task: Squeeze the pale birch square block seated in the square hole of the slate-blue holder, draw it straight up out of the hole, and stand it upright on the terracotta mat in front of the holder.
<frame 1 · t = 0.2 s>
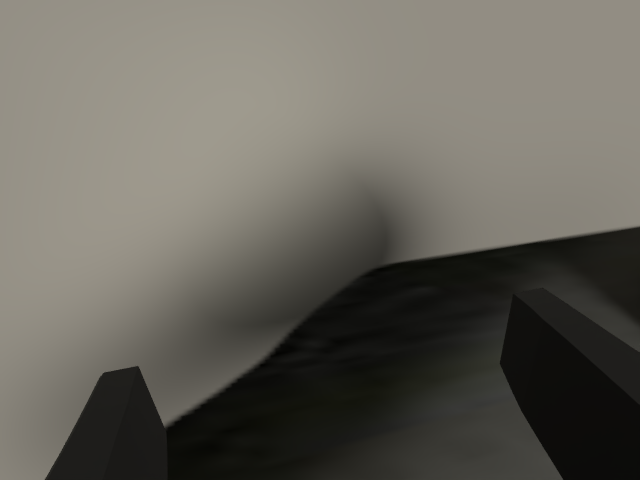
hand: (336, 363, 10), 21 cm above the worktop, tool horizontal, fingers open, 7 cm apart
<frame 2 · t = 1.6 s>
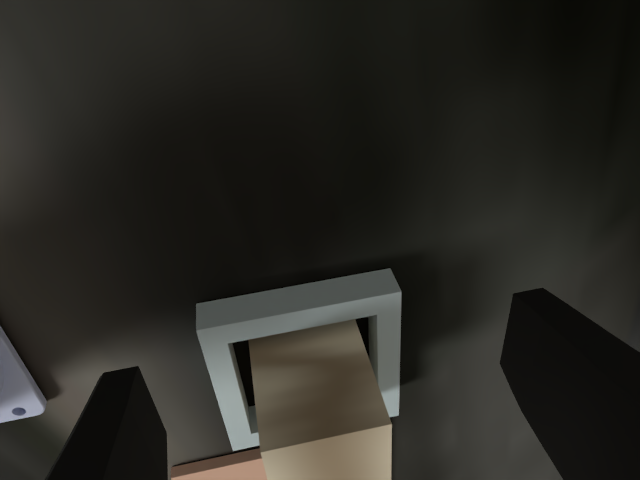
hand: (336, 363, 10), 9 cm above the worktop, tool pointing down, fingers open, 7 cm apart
birch block: (304, 350, 24), resting in holder
holder: (304, 352, 24), on the worktop
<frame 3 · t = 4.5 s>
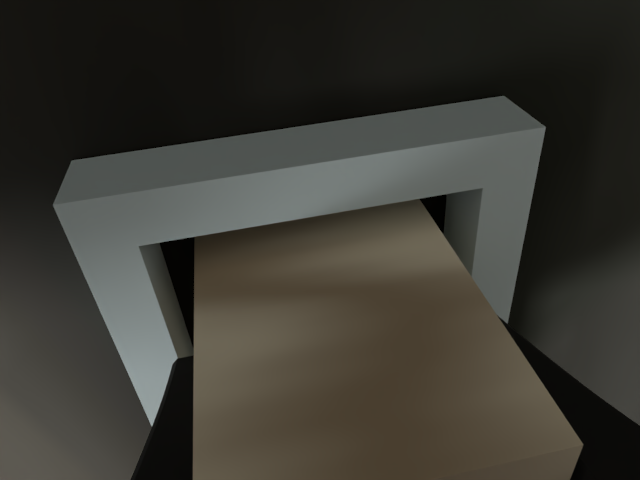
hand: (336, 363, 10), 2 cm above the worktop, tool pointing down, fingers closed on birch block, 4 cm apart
birch block: (315, 289, 12), resting in holder, touching gripper
holder: (315, 290, 12), on the worktop
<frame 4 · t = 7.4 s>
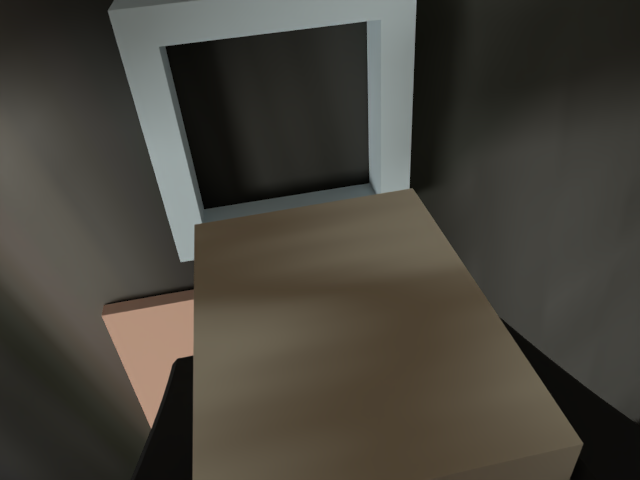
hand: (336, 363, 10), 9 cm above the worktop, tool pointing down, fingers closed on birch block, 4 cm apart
birch block: (315, 288, 12), point 7 cm above the worktop, touching gripper
holder: (278, 117, 17), on the worktop
mat: (265, 371, 24), on the worktop
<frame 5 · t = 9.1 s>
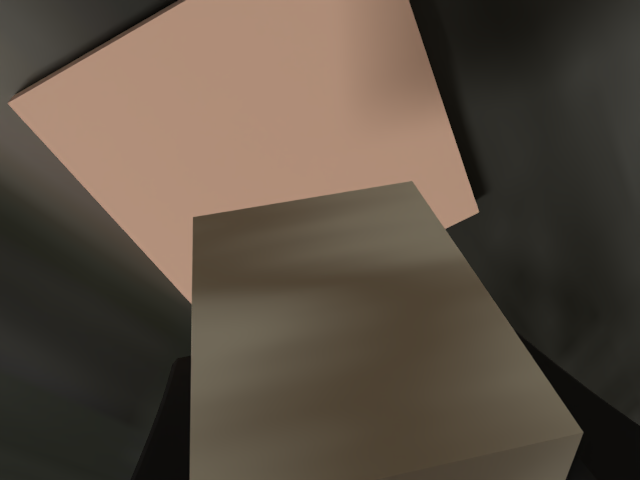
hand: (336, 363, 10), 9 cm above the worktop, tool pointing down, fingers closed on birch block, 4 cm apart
birch block: (314, 282, 12), point 7 cm above the worktop, touching gripper
mat: (278, 157, 17), on the worktop
when the fingers open (4 cm above the worktop, at t = 10.3 s): birch block drops 1 cm, resting on mat.
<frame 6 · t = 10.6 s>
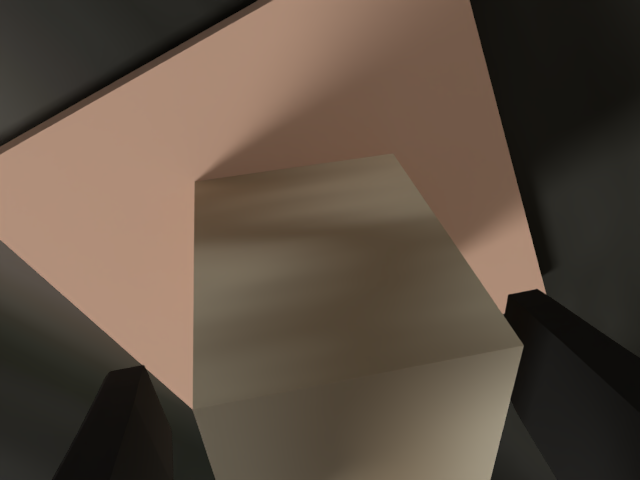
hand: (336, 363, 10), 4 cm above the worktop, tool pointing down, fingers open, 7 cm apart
birch block: (303, 247, 13), point 1 cm above the worktop, touching mat
mat: (300, 237, 14), on the worktop
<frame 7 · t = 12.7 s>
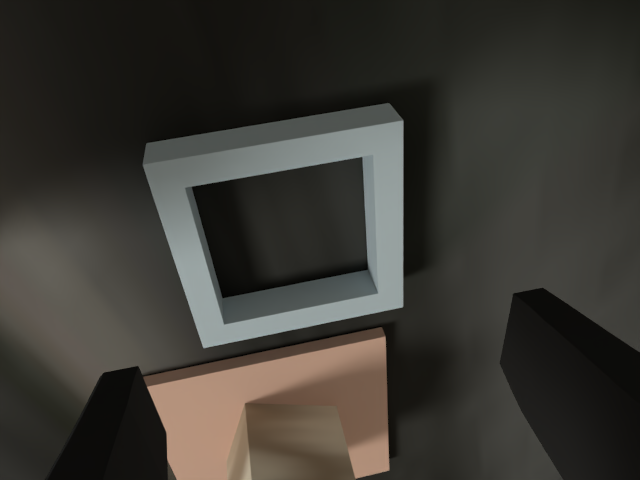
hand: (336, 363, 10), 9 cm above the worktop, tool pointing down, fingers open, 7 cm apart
birch block: (280, 434, 26), point 1 cm above the worktop, touching mat
holder: (286, 223, 19), on the worktop
mat: (278, 425, 26), on the worktop
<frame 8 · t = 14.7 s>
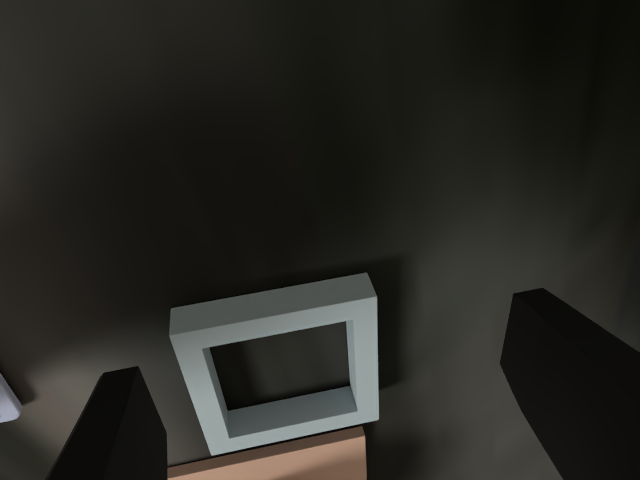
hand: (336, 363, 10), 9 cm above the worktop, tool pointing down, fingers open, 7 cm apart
holder: (282, 356, 23), on the worktop
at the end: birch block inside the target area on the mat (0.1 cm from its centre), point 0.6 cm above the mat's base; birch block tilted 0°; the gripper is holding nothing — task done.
